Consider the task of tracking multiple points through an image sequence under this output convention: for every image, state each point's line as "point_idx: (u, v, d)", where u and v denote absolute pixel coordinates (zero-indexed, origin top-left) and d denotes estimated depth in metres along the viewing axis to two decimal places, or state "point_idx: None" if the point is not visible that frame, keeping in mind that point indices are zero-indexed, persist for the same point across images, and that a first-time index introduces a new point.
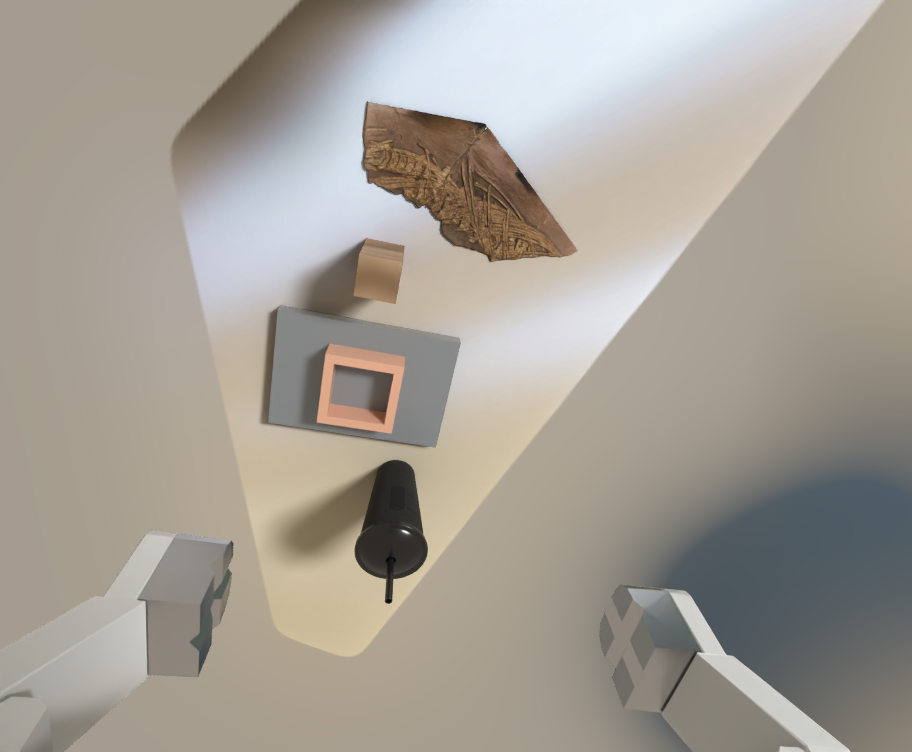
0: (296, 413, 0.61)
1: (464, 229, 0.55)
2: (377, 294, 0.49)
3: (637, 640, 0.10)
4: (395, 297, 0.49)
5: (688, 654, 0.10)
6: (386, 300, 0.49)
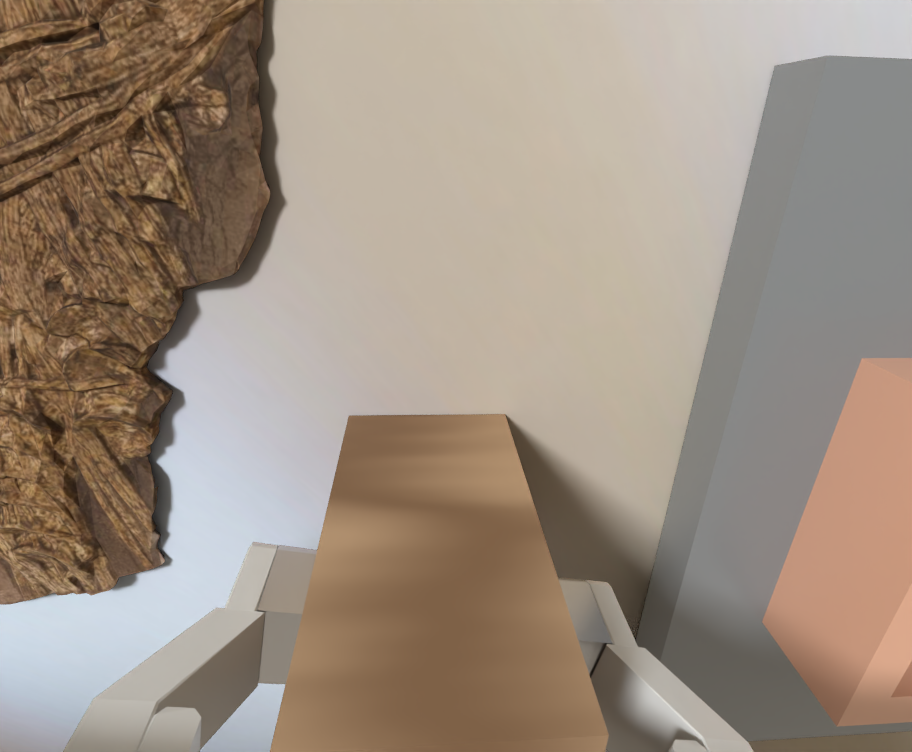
0: None
1: (172, 168, 0.10)
2: None
3: None
4: (557, 744, 0.06)
5: (598, 646, 0.09)
6: None
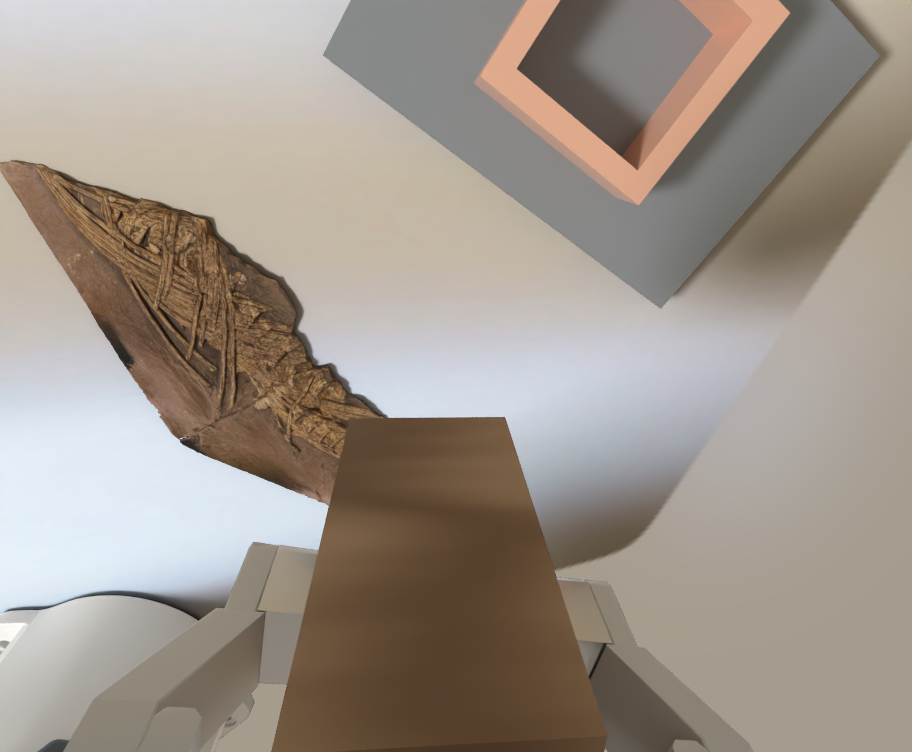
0: (805, 46, 0.23)
1: (251, 304, 0.27)
2: None
3: None
4: (556, 744, 0.06)
5: (598, 646, 0.09)
6: None
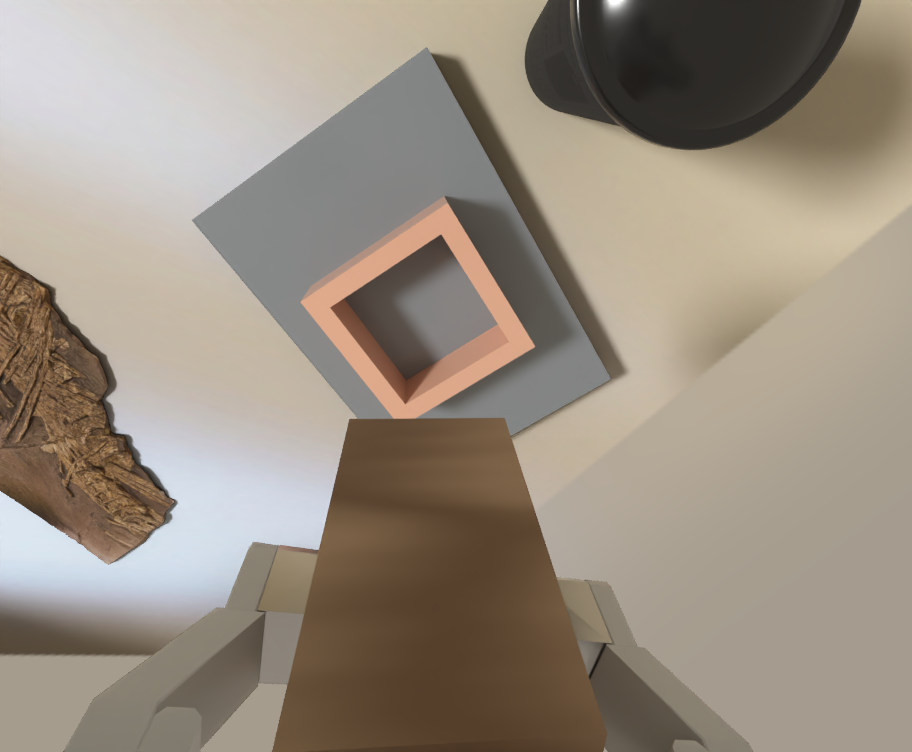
0: (562, 354, 0.30)
1: (66, 367, 0.30)
2: None
3: None
4: (556, 743, 0.06)
5: (598, 646, 0.09)
6: None
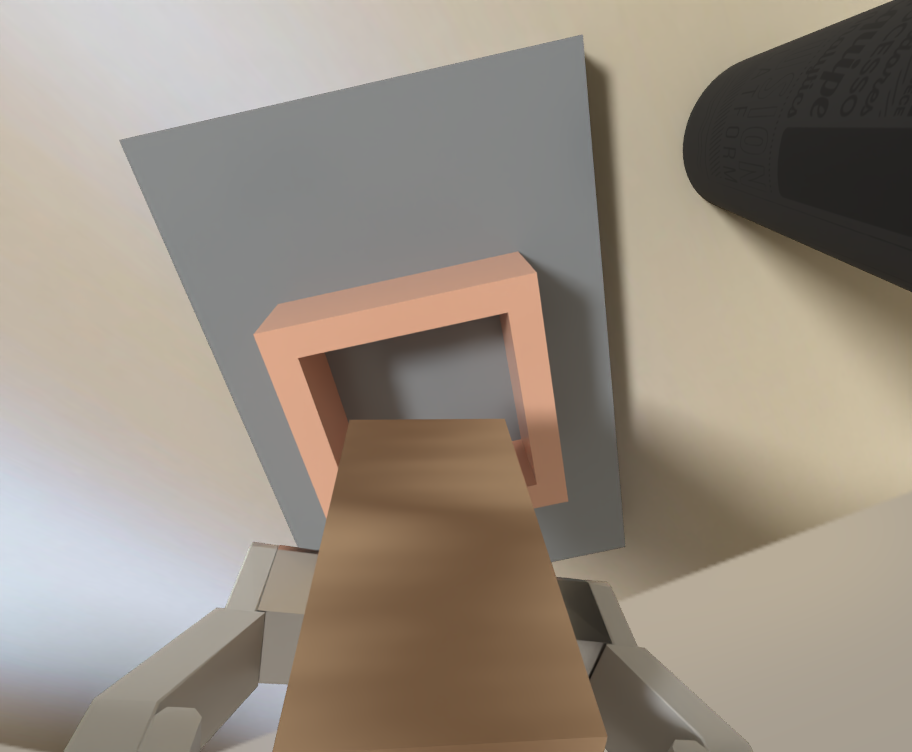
0: (581, 501, 0.22)
1: None
2: None
3: None
4: (557, 745, 0.06)
5: (598, 646, 0.09)
6: None
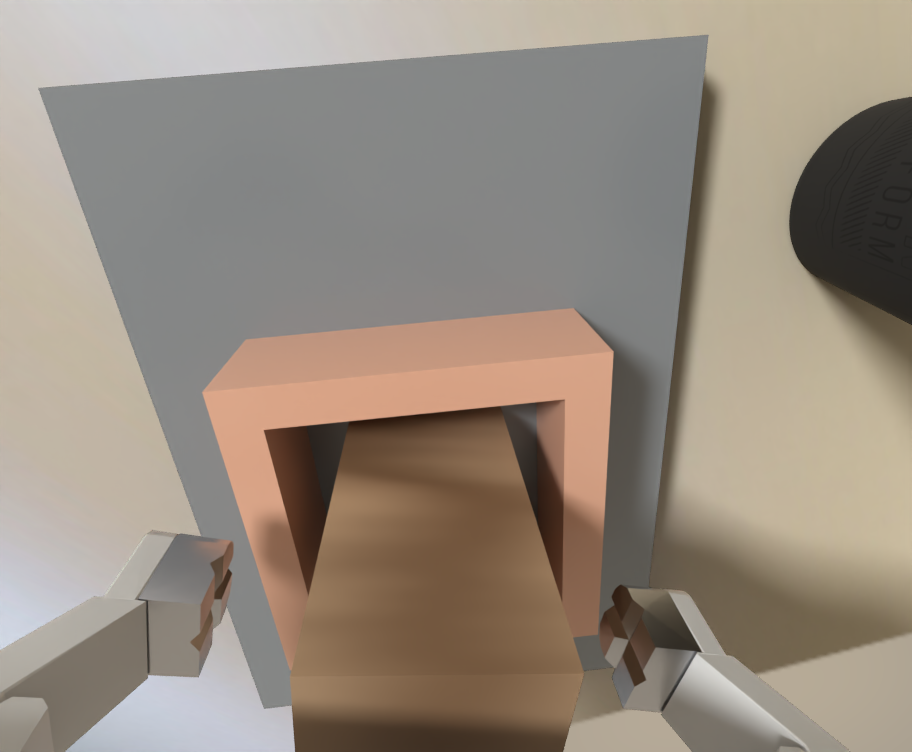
0: None
1: None
2: None
3: (636, 640, 0.10)
4: (539, 679, 0.07)
5: (688, 654, 0.10)
6: (562, 715, 0.08)
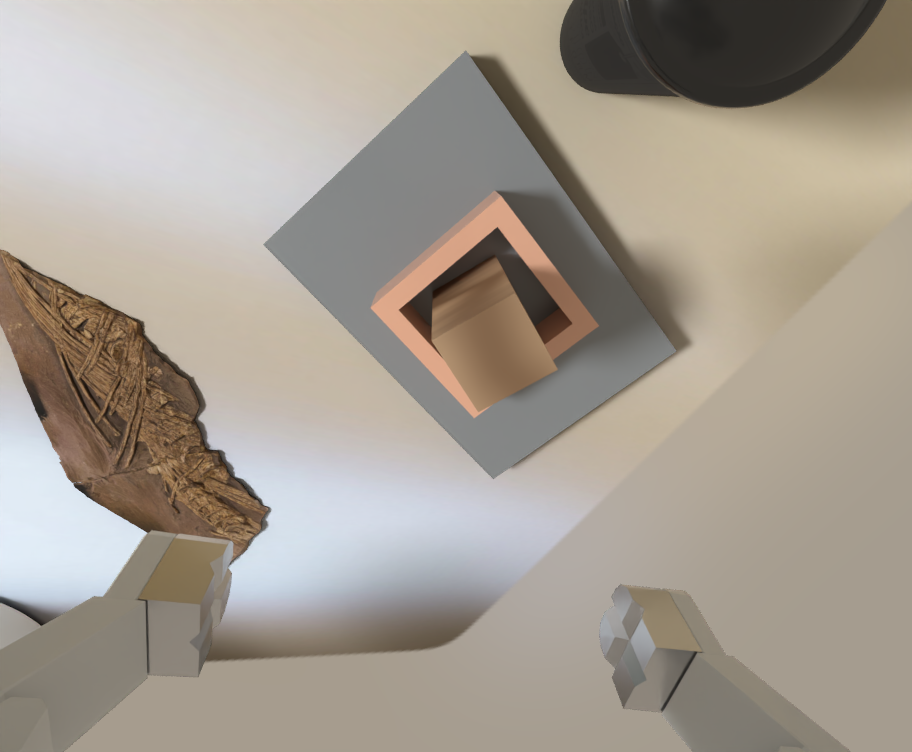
0: (625, 332, 0.31)
1: (162, 393, 0.32)
2: (522, 335, 0.22)
3: (637, 640, 0.10)
4: (503, 302, 0.21)
5: (688, 654, 0.10)
6: (521, 312, 0.22)
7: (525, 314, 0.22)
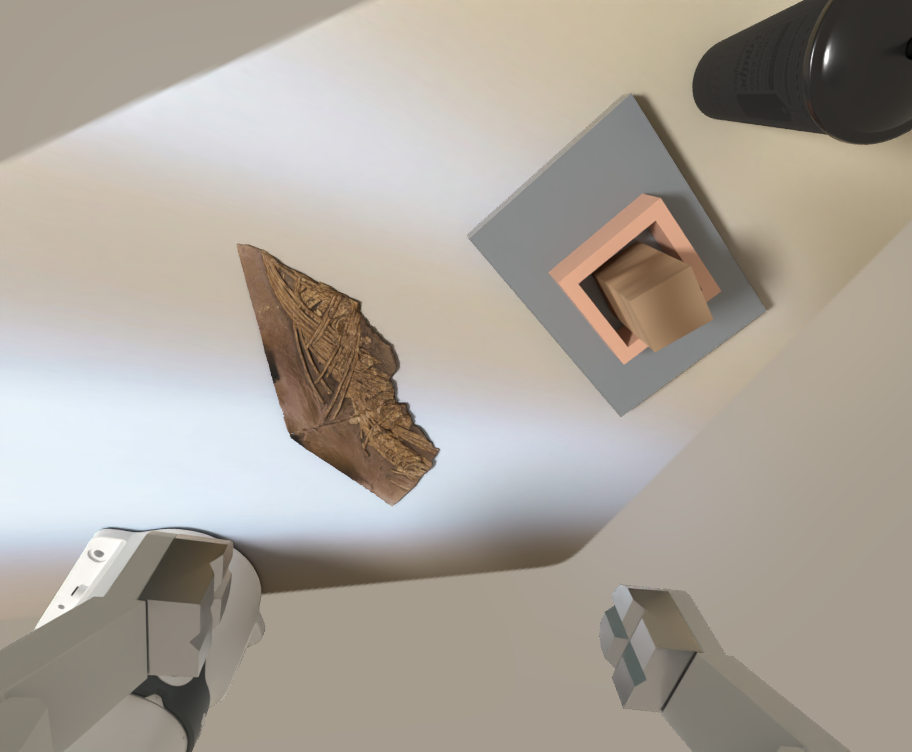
0: (729, 297, 0.41)
1: (369, 357, 0.42)
2: (691, 295, 0.32)
3: (637, 640, 0.10)
4: (681, 272, 0.31)
5: (688, 654, 0.10)
6: (693, 279, 0.31)
7: (695, 280, 0.31)
